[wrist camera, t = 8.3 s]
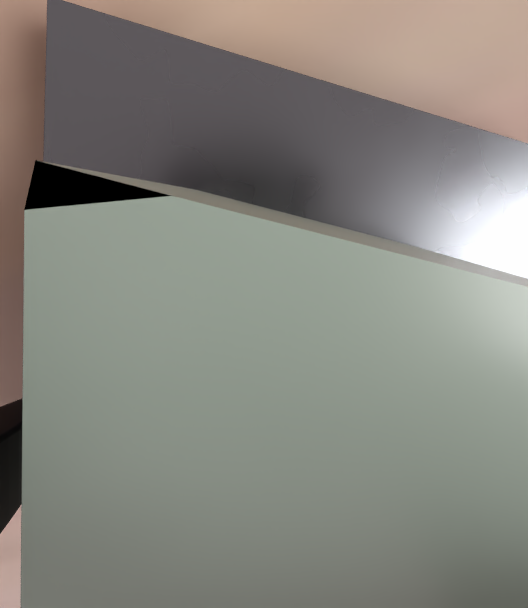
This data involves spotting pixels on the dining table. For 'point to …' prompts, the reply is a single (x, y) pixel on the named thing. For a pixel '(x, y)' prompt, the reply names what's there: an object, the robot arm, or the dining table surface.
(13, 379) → the dining table surface
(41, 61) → the dining table surface
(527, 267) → the base plate
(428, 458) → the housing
